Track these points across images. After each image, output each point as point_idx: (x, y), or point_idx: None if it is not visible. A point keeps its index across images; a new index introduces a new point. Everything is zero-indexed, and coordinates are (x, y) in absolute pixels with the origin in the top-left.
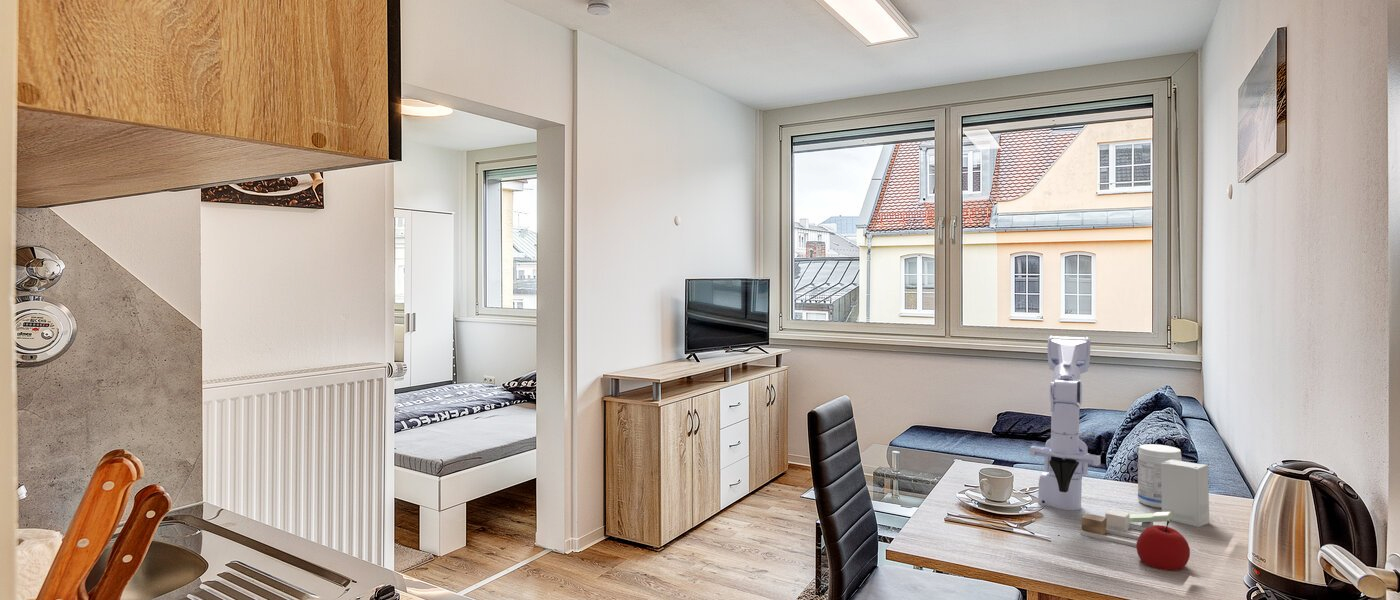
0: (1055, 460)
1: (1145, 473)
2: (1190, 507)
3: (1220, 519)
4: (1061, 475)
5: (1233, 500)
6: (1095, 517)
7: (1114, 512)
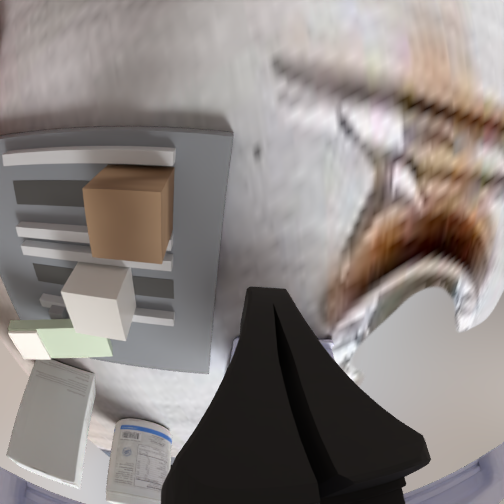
0: (367, 493)
1: (150, 470)
2: (37, 392)
3: None
4: (292, 383)
5: (97, 443)
6: (118, 228)
7: (102, 320)
